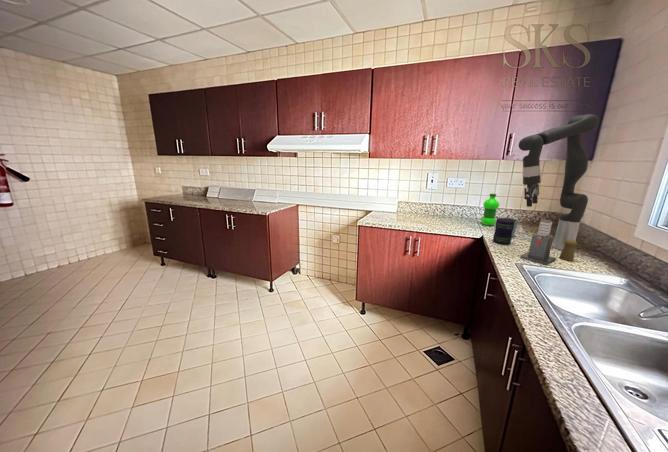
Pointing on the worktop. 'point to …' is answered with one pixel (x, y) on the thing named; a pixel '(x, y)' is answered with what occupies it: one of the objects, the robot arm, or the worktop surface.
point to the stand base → (540, 250)
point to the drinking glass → (514, 225)
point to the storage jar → (503, 231)
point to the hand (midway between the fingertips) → (532, 205)
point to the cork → (568, 250)
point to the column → (544, 228)
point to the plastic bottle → (490, 210)
